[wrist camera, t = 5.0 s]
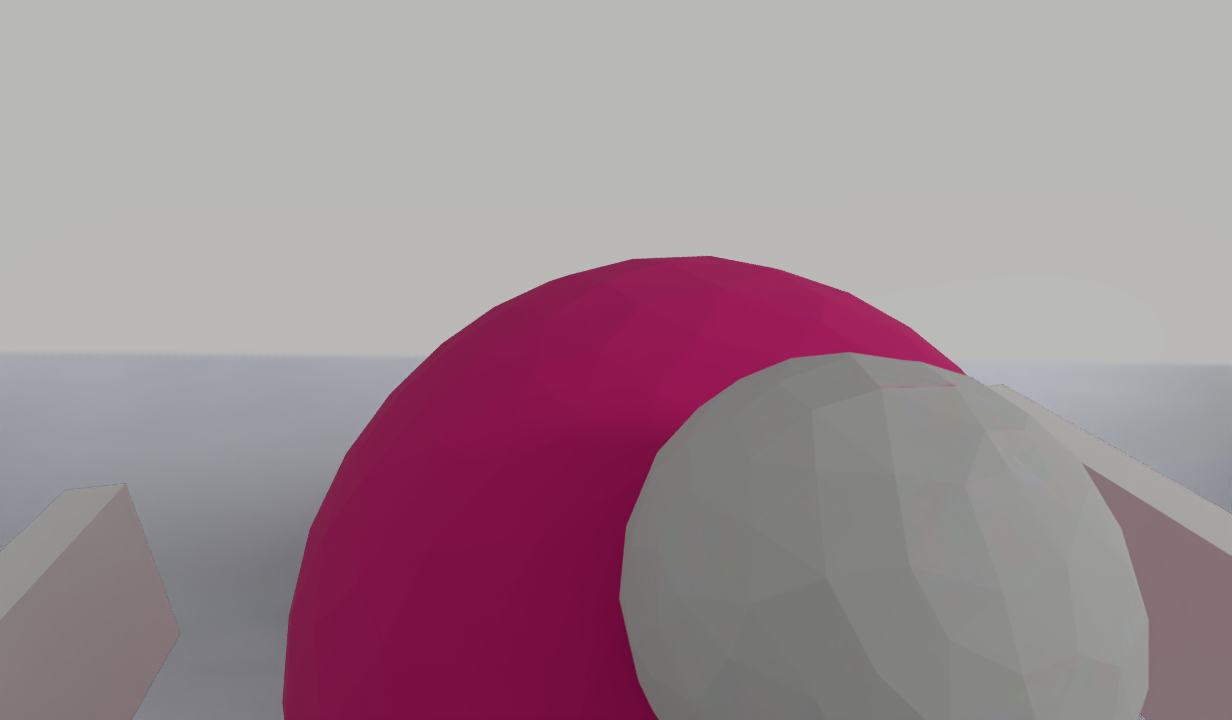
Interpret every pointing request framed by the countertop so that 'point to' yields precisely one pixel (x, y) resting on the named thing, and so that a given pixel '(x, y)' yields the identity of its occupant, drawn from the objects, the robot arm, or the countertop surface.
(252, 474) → the countertop surface
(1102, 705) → the pepper mill
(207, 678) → the countertop surface
